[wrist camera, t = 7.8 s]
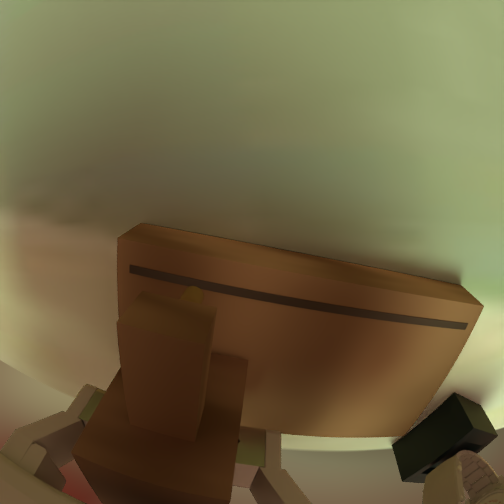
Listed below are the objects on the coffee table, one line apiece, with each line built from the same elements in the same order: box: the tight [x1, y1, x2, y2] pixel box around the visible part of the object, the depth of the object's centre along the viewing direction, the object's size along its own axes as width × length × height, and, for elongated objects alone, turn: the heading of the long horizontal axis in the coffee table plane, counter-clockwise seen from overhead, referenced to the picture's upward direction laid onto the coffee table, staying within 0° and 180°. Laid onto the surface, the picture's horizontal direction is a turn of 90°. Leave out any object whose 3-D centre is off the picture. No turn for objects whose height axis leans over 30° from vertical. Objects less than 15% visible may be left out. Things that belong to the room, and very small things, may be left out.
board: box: [117, 223, 484, 437], centre depth 12 cm, size 14×8×2 cm, turn 80°
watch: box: [392, 392, 504, 504], centre depth 9 cm, size 6×8×11 cm
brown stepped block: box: [71, 286, 248, 504], centre depth 8 cm, size 4×8×6 cm, turn 170°
